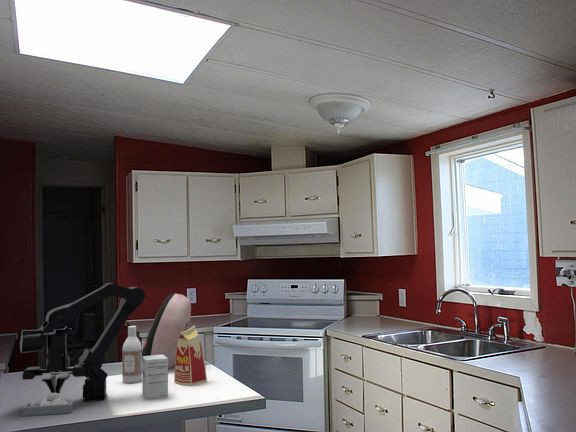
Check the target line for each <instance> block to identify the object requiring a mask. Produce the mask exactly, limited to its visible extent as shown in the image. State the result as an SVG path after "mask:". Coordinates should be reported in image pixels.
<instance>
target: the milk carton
mask: <svg viewBox="0 0 576 432" xmlns="http://www.w3.org/2000/svg"><path fill="white" fill-rule="evenodd" d="M207 377H208V376H207V369H206V362H205V357H204V352H203V347H202V344H201V339H200V335H199V333H198V332H197V330H196V325H193V326H191V327H189V329H188V330H186V331H184V332H181V336H180V337H179V338H178V344H177V351H176V360H175V364H174V379H173V380H174V381H173V382H174V383H175V384H178V385H181V386H195V385H199V384H203V383H207V382H208V378H207Z"/></svg>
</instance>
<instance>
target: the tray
mask: <svg viewBox="0 0 576 432" xmlns="http://www.w3.org/2000/svg"><path fill="white" fill-rule="evenodd" d="M75 406H76V401H75V399H74V400H71V401H70V402H69V403H68V404H64V405H48V406H40V405H36V406H35V405H34V406H32V405H31V402H30V403H26V404H25V405H24V406H23V407H21V415H22V416H21V417H30V416H31V417H33V416H44V415H45V416H46V415H57V414H58V415H59V414H60V415H61V414H72V413H73V411H74V410H75V408H76V407H75Z"/></svg>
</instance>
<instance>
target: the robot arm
mask: <svg viewBox="0 0 576 432" xmlns="http://www.w3.org/2000/svg"><path fill="white" fill-rule="evenodd" d="M111 296H114V297H117V298H120V300H119V301H120V302H119V305H118V308H117V310H116V312H115V313H114V314H113V317H112V318H111V319H110V321H109V323H108V324H107V326H106V327H105V329H104V330H103V332H102V333H101V335H100V337H99V338H98V340H97V341H96V343H95V344H94V346H93V347H91V348H90V349H88V348H86V347H85V349H84V350H83V352H82V355H81V356H80V357H78V364H75V365H74V366H73V367H70V364H71V363H70V361H71V357H70V356H69V355H68V351H67V335H72V334H74V331H73V330H71V329H70V327H69V326H67V325H68V324H69V323H70V322H71V321H72V320H74V319H75V317H76V316H78V315H79V314H81V313H82V312H84V311H86V310H87V309H90V308H91V307H94V305H97V304H99V303H100V302H102V301H103V300H105V299H107V298H109V297H111ZM145 299H146V294H145V291H144V290H143V289H142V288H140V287H137V286H130V287H126V286H125V287H124V286H121V285H117V284H115V283H113V282H107V283H105V284H104V285H102V286H100V287H99V288H97V289H95V290H93V291H91V292H89V293H88V294H86V295H84V296H83V297H80V298H78V299H76V300H75V301H73V302H70V303H68V304H64V305H61V306H58V307H56V308H55V307H54V308H53V309H50V310H49V311H48V312H47V313H46V316H45V321H44V322H43V323H42V324H41V326H40V327H39V328H38V329H30V330H29V329H22V330H21V335H20V340H19V349H20V350H19V351H20V353H21V354H23V353H33V352H34V353H35V352H41V351H42V349H44V348H46V354H45V358H46V360H45V364H46V367H45V369H44V368H41V366H29V367H27V368H26V369H24V370H23V371H22V375H21V376H22V377H21V378H22V379H21V380H23V381H24V380H33V379H35V378H36V377H37V376H38V377H39V376H40V377H41V376H42V379H41V382H44V383H45V385H47V387H48V389H49V391H50V393H59V394H61V391H62V388H63V387H64V384H65V382H66V381H67V380H68V379H69V378H71V375H72V376H73V377H74V378H79V377H80V378H81V377H85V378H86V379H85V380H84V384H83V385H82V399H83V402H91V401H104V400H105V399H106V398H107V397H108V393H107V378H108V373H107V372H106V371H105V370H103V369H102V366H103V364H104V362H105V357H106V354H107V351H108V350H109V348H110V347H111V346H112V344H113V342H114V340H115V339H116V337H117V336H118V335H119V332H120V331H121V330H122V328H123V326H124V325H125V323H126V321H127V320H128V319H129V317H130V316H131V314H133V312H135V311H136V310H137V309H138V308H139V307H140V306H141V305H142V303H144V301H145ZM63 327H64V328H63ZM57 375H58V377H57Z"/></svg>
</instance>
